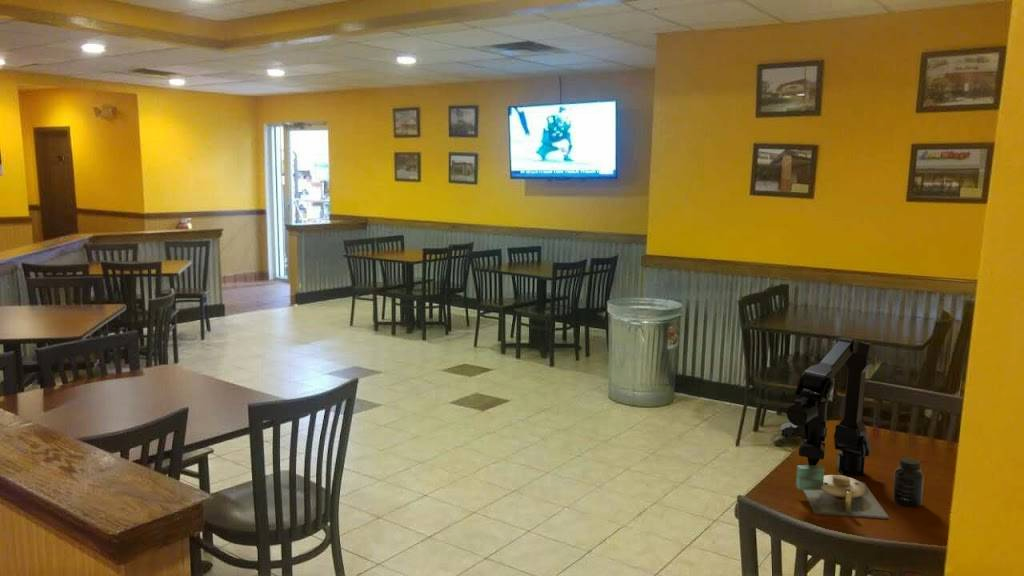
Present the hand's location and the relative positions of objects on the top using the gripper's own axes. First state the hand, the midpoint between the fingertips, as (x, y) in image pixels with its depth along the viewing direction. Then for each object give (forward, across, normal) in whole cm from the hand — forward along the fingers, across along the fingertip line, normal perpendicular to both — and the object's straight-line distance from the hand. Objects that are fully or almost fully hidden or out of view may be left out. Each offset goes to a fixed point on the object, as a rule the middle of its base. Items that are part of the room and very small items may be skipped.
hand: (811, 469), depth 201 cm
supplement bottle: (+8, -5, +24) cm, 26 cm away
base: (+7, 0, +8) cm, 10 cm away
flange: (+4, +1, +5) cm, 7 cm away
